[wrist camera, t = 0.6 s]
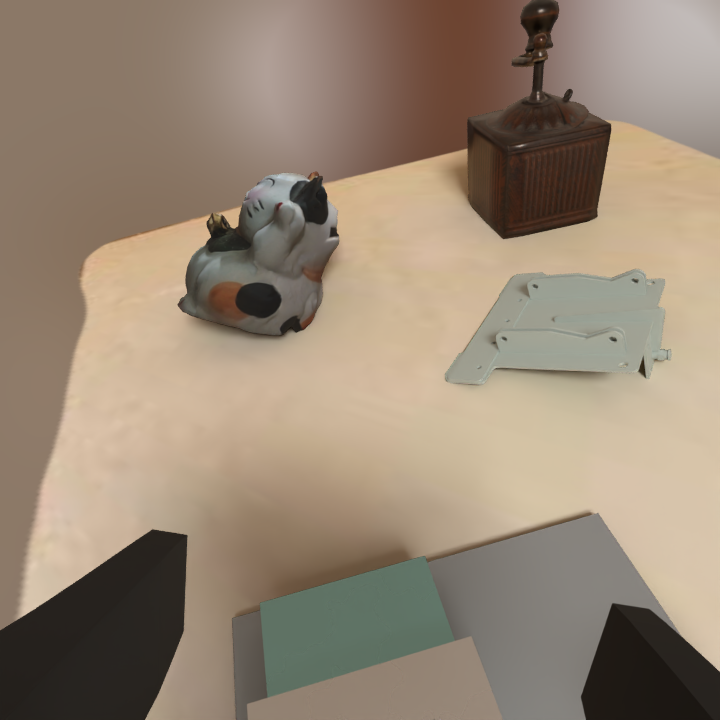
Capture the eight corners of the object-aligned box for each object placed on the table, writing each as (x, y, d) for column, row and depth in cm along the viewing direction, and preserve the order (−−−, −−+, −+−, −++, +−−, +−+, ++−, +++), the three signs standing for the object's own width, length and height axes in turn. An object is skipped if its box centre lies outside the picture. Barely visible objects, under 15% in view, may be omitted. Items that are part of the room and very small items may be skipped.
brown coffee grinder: (605, 218, 53) (645, 8, 42) (502, 241, 53) (513, 33, 41) (535, 166, 65) (551, -9, 54) (450, 184, 64) (447, 10, 53)
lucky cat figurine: (207, 275, 55) (233, 136, 49) (319, 308, 56) (357, 175, 51) (154, 325, 41) (183, 140, 36) (304, 366, 42) (354, 194, 37)
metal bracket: (681, 242, 38) (644, 368, 29) (685, 309, 41) (653, 443, 32) (496, 259, 47) (423, 360, 38) (510, 313, 50) (446, 419, 41)
